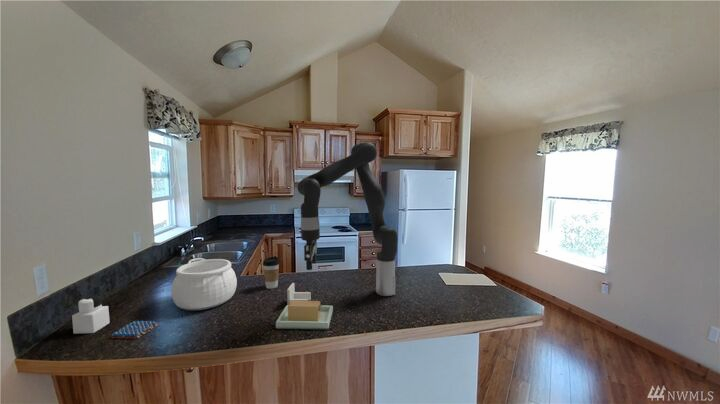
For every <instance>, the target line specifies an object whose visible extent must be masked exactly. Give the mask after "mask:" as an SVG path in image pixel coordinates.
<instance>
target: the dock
mask: <svg viewBox="0 0 720 404" xmlns="http://www.w3.org/2000/svg"><path fill="white" fill-rule="evenodd" d="M295 286H296V285H295V282H292V283H291V284H290V285H289V287H288V288H287V289H286V296H287V297H286V301H287V305H289V304H290V302H291V301H312V299H311V297H312V296H311V295H312V294H311V293H312V292H309V291H304V292H302V291H301V292H300V291H295V290H296V289H295Z"/></svg>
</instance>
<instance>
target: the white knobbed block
mask: <svg viewBox="0 0 720 404" xmlns="http://www.w3.org/2000/svg"><path fill="white" fill-rule="evenodd" d="M109 311H110V310H109V305H102V296H100V295H92V296H87V297H83V298H82V299H80V300H79V301H78V312H76V313H74V314H72V315H71V319H72V330H73V331H72V332H73V334H75V335H77V334H94V333H96V332H98V331H99V330H101V329H103V328H104V327H106V326H107V325H108V324H110V312H109Z"/></svg>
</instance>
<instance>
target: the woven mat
mask: <svg viewBox="0 0 720 404" xmlns="http://www.w3.org/2000/svg"><path fill="white" fill-rule="evenodd" d="M158 325H159V321H158V320H134V321H131V322H130V323H128V324H126V325H124V326H123V327H121V328H120V329H118V330H117V331H115V332H113V333H112V334H111V335H110V338H112V339H137V340H138V339H139V338H140V337H142V336H143V335H145V334H146V333H147V332H150V331H151V330H152V329H154V327H157V326H158Z"/></svg>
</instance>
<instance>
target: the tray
mask: <svg viewBox="0 0 720 404" xmlns="http://www.w3.org/2000/svg"><path fill="white" fill-rule="evenodd" d="M333 312H334V306H333V305H322V306H321V309H320V318H319V320H318V321H288V304H287V305H286V306H285V307H284V308H283V310H282V312H281V313H280V315H279V316H278V318H277V320H276V321H275V329H281V330H282V329H284V330H285V329H289V330H290V329H291V330H292V329H294V330H296V329H297V330H299V329H300V330H329V328H330V324H331V319H332V316H333Z"/></svg>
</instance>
